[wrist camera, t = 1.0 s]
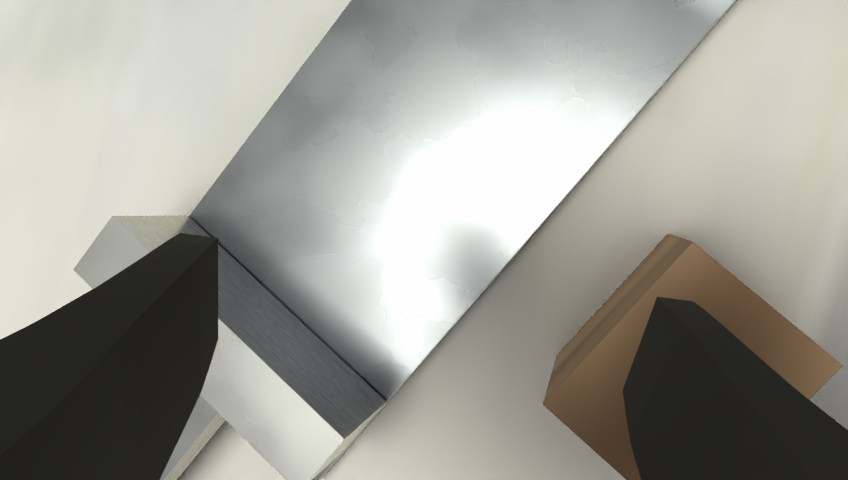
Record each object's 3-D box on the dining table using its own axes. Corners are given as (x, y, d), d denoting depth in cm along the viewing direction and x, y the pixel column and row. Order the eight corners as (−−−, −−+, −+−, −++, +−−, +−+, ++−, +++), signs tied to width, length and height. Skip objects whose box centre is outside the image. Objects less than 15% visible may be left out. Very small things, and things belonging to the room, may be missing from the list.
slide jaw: (387, 401, 23) (344, 439, 19) (187, 631, 25) (112, 708, 21) (189, 215, 24) (112, 216, 21) (14, 447, 26) (-86, 488, 23)
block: (776, 323, 21) (843, 365, 16) (658, 444, 22) (679, 527, 16) (667, 233, 22) (692, 242, 16) (556, 355, 23) (543, 404, 17)
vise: (790, -62, 21) (848, -145, 16) (322, 478, 25) (254, 543, 20) (547, -237, 22) (533, -363, 17) (140, 300, 26) (35, 321, 21)
